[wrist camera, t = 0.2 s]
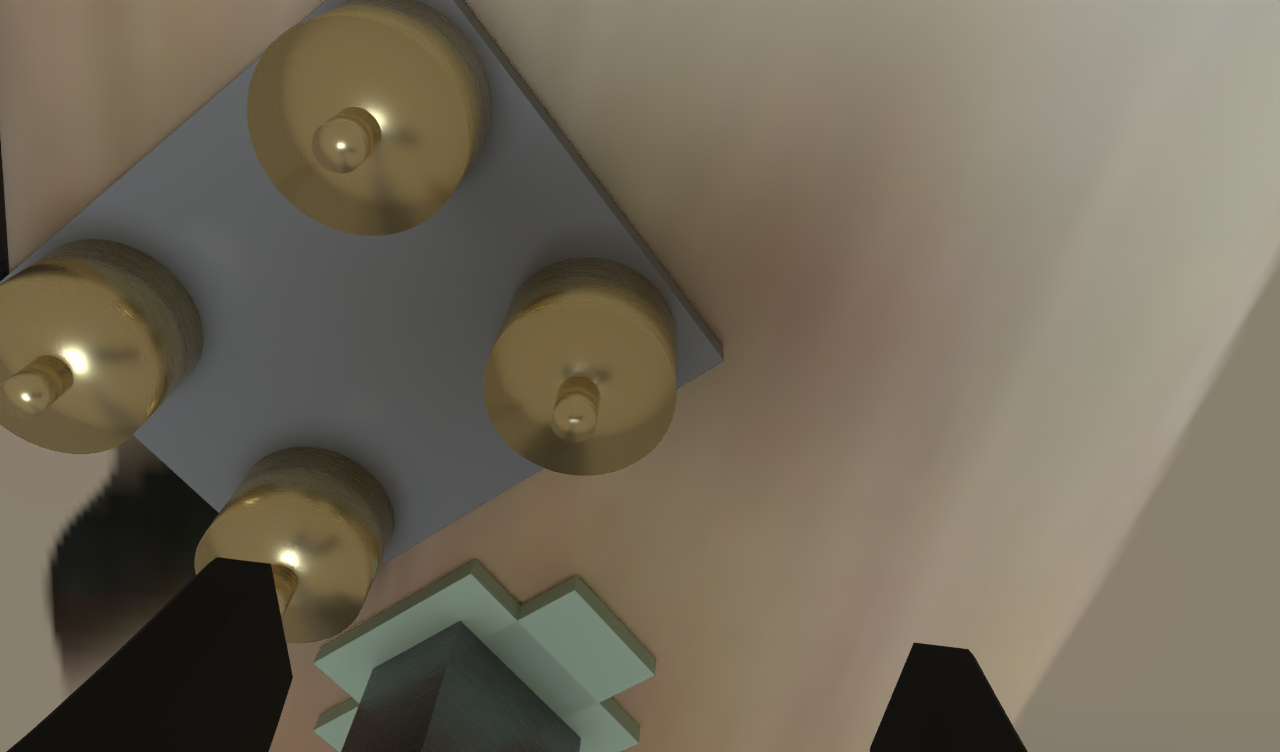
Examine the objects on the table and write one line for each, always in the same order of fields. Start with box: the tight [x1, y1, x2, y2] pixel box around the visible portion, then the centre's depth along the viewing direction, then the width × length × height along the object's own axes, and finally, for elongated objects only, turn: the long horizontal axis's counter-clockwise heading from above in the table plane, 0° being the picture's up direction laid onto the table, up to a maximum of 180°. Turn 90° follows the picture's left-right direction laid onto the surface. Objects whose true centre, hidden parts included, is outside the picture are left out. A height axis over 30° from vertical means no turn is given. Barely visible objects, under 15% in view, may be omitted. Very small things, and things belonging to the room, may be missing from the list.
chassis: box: [0, 0, 724, 643], centre depth 19 cm, size 12×10×4 cm
